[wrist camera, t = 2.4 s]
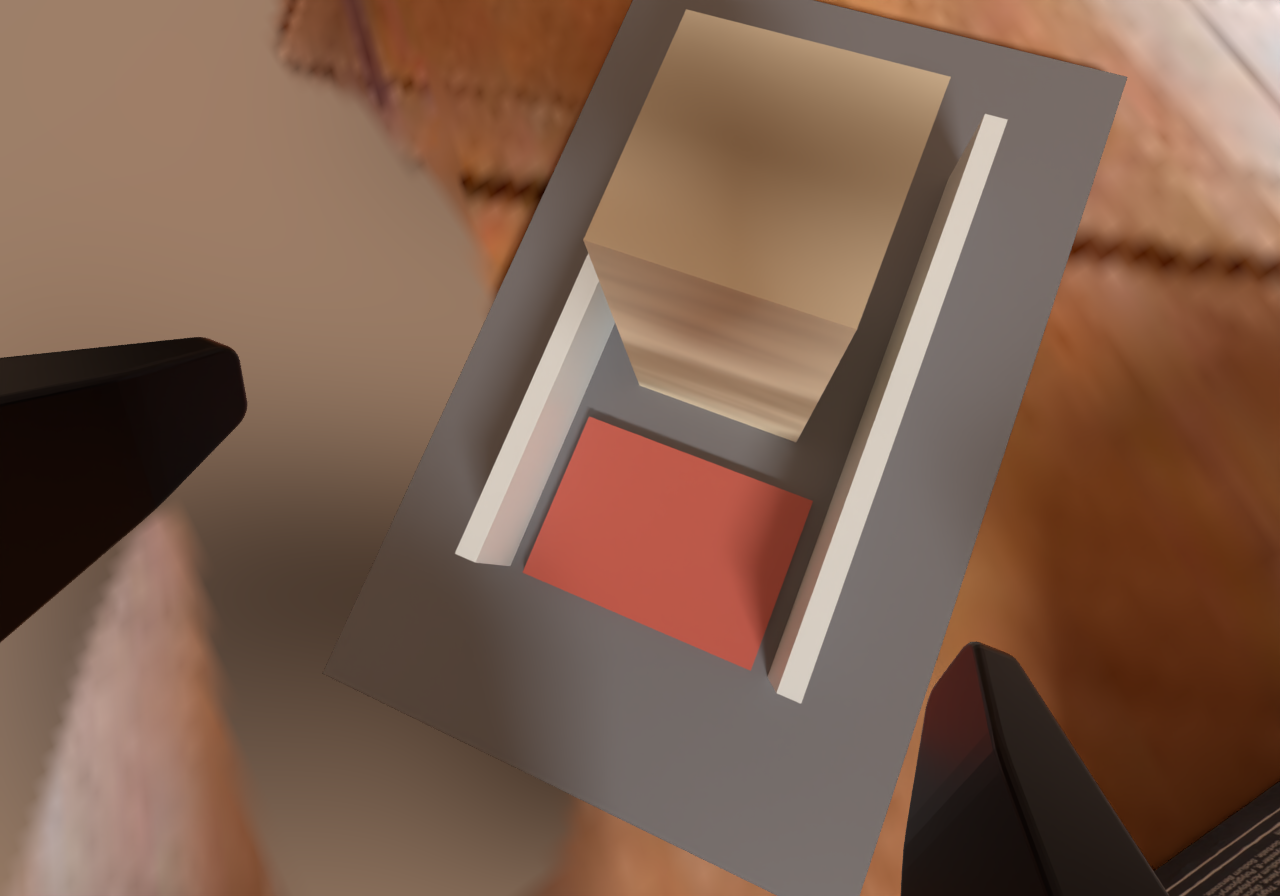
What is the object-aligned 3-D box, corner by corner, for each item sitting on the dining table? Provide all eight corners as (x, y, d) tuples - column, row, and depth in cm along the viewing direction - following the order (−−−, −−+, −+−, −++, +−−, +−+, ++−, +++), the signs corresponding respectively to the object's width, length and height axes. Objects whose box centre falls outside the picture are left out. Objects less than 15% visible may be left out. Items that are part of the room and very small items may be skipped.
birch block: (796, 442, 20) (857, 330, 11) (639, 385, 21) (583, 239, 12) (852, 292, 21) (950, 76, 12) (699, 243, 22) (686, 9, 13)
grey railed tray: (842, 915, 18) (874, 998, 15) (336, 670, 21) (255, 687, 17) (1112, 95, 22) (1193, -5, 18) (653, -20, 25) (641, -127, 21)
